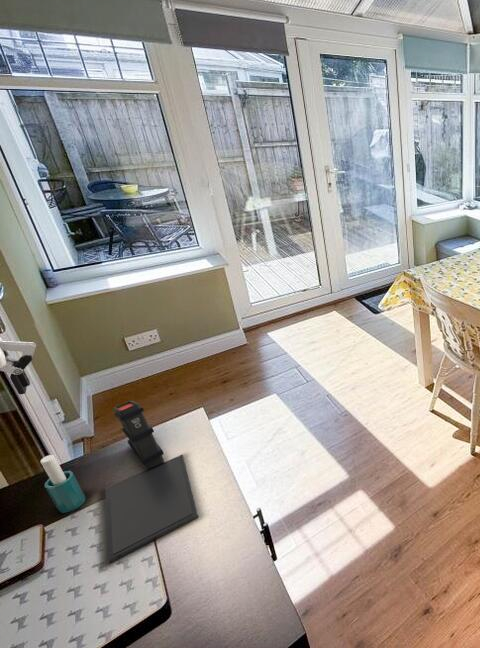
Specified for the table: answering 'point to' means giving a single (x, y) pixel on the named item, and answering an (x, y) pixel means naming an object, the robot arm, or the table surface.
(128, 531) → the tablet
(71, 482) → the pen pot
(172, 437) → the table surface
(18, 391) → the robot arm
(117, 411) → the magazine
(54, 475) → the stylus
